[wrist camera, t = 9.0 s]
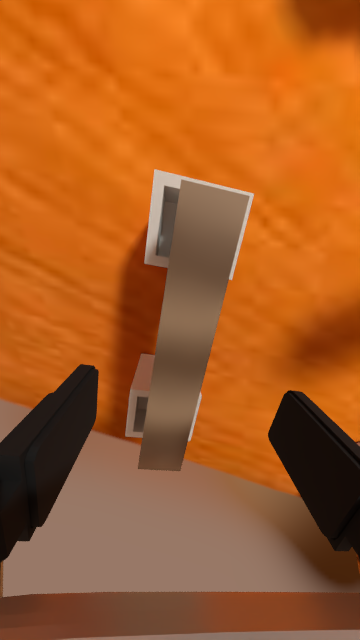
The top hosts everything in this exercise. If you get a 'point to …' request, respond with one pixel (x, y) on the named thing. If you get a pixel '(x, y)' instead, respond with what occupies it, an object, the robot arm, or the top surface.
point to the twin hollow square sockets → (158, 255)
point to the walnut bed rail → (189, 316)
